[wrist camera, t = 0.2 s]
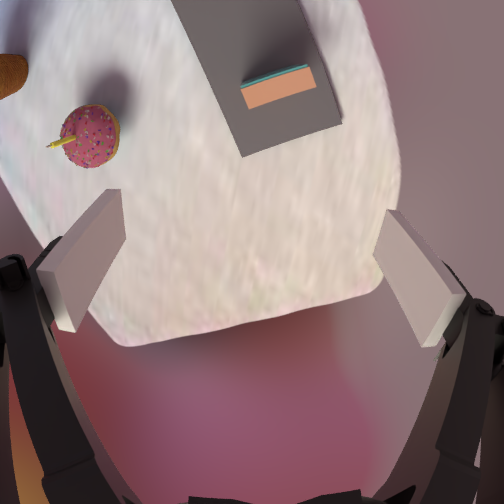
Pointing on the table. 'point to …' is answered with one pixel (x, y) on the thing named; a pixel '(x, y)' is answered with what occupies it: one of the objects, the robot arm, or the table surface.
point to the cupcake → (89, 136)
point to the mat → (258, 67)
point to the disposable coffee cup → (12, 74)
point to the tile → (277, 85)
